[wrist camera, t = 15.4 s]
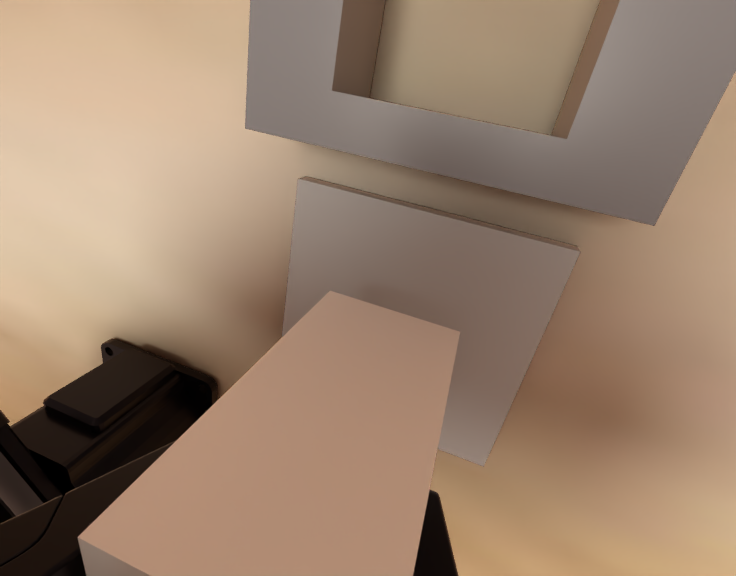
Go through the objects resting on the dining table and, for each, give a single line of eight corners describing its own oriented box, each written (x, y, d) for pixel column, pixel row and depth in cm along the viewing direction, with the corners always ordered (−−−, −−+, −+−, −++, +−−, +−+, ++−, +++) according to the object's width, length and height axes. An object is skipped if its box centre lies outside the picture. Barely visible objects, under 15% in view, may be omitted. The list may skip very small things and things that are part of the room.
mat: (484, 454, 16) (483, 466, 15) (283, 379, 17) (276, 387, 17) (577, 246, 12) (580, 251, 11) (305, 176, 14) (297, 178, 13)
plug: (425, 434, 13) (333, 816, 6) (313, 392, 14) (111, 683, 6) (460, 331, 11) (388, 699, 4) (330, 290, 12) (77, 537, 5)
